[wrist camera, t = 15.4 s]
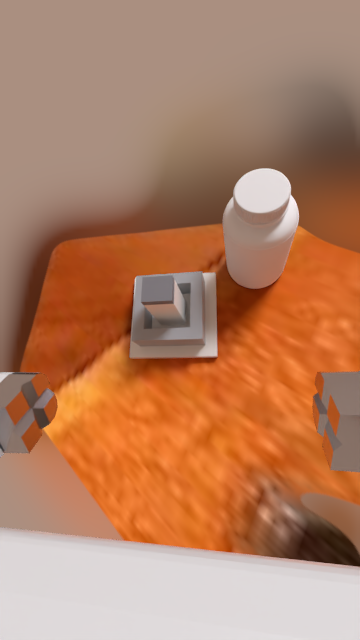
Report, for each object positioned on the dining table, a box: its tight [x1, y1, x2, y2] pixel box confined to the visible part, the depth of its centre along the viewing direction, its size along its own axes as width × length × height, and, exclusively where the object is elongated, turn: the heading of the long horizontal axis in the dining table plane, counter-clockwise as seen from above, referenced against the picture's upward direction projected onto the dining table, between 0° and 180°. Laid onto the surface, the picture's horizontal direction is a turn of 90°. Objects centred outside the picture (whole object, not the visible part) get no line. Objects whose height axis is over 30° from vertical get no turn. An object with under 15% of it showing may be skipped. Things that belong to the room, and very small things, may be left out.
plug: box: [141, 275, 186, 325], centre depth 36 cm, size 4×3×9 cm
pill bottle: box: [223, 169, 299, 289], centre depth 34 cm, size 8×8×15 cm
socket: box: [129, 272, 218, 359], centre depth 39 cm, size 12×12×4 cm
